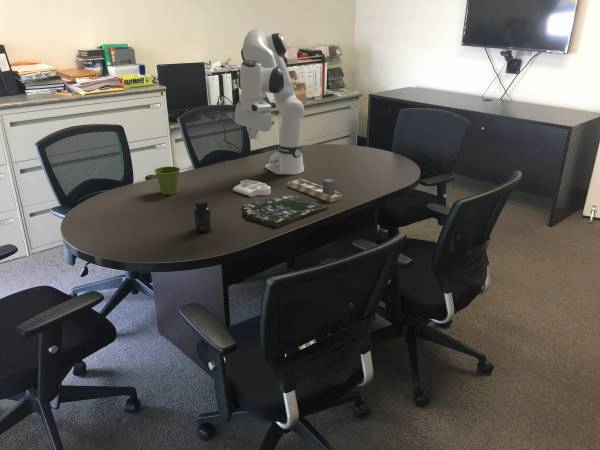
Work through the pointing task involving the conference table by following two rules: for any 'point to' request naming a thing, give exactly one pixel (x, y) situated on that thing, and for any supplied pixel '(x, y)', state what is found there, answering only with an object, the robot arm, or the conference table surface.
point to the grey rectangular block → (329, 186)
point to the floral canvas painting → (281, 210)
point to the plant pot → (168, 179)
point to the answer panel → (314, 190)
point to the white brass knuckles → (252, 188)
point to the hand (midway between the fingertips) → (252, 138)
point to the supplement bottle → (202, 217)
